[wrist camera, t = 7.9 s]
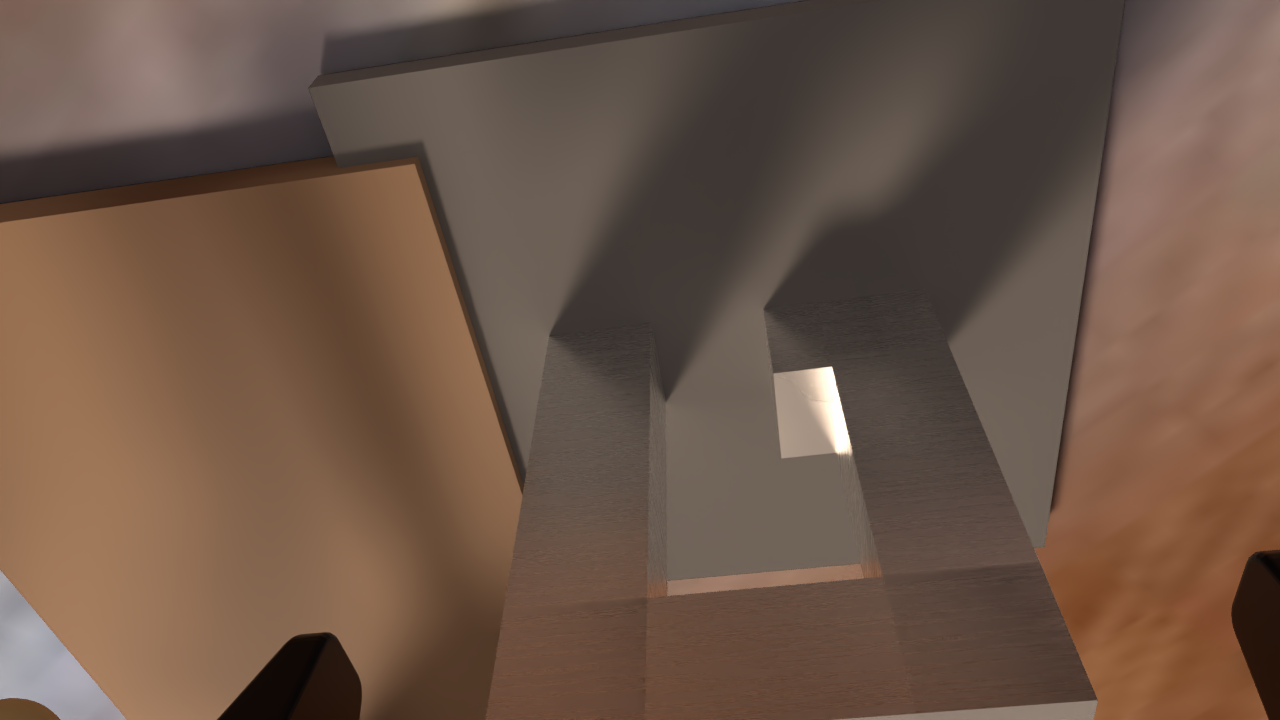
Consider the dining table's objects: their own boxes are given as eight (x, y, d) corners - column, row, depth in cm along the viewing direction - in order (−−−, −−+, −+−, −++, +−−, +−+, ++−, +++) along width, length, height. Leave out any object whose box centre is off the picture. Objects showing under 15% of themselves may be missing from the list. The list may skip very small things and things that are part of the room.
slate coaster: (1116, -48, 10) (1130, -38, 10) (1036, 528, 15) (1044, 547, 15) (318, 75, 11) (308, 87, 11) (503, 577, 16) (499, 595, 16)
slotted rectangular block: (924, 289, 12) (1097, 700, 7) (923, 373, 13) (1077, 792, 8) (549, 335, 13) (481, 746, 8) (570, 413, 14) (520, 828, 9)
